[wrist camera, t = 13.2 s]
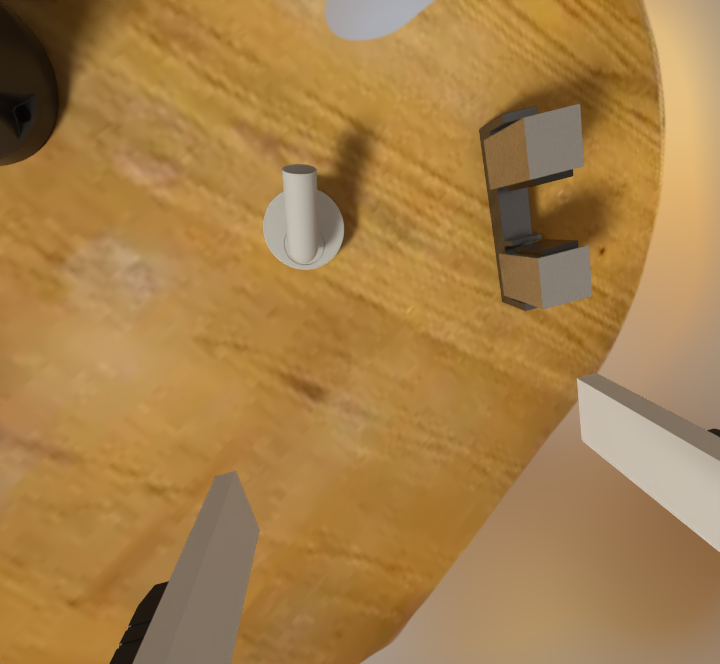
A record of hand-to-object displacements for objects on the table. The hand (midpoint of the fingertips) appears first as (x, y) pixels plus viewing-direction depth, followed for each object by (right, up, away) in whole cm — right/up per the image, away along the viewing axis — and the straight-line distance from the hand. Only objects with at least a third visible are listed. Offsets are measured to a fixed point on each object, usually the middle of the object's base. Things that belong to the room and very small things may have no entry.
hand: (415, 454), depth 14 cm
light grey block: (+17, +12, +29) cm, 35 cm away
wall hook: (-8, +17, +28) cm, 34 cm away
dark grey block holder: (+15, +18, +30) cm, 38 cm away
